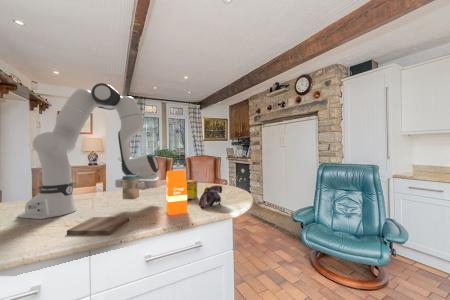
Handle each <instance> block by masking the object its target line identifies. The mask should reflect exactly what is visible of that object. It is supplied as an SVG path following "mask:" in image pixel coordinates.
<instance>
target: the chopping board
mask: <svg viewBox="0 0 450 300" xmlns="http://www.w3.org/2000/svg"><path fill="white" fill-rule="evenodd" d="M128 222H130V216H129V217H128V216H116V217H115V216H92V217H90V218H88V219H87V220H85V221H83V222H81V223H79V224H77V225H75V226H73V227H71V228H69V229H67V230H66V235H67V236H68V235H69V236H70V235H72V236H73V235H75V236H76V235H77V236H78V235H80V236H83V235H84V236H85V235H87V236H88V235H89V236H98V235H99V236H110V235H111V234H114V232H116V231H117V230H119V229H120V228H122V227H123V226H124V225H126V224H127V223H128Z"/></svg>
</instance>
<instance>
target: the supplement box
mask: <svg viewBox="0 0 450 300" xmlns="http://www.w3.org/2000/svg"><path fill="white" fill-rule="evenodd" d="M186 181H187V201H196V199H197V198H198V180H197V179H188V180H186Z"/></svg>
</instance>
